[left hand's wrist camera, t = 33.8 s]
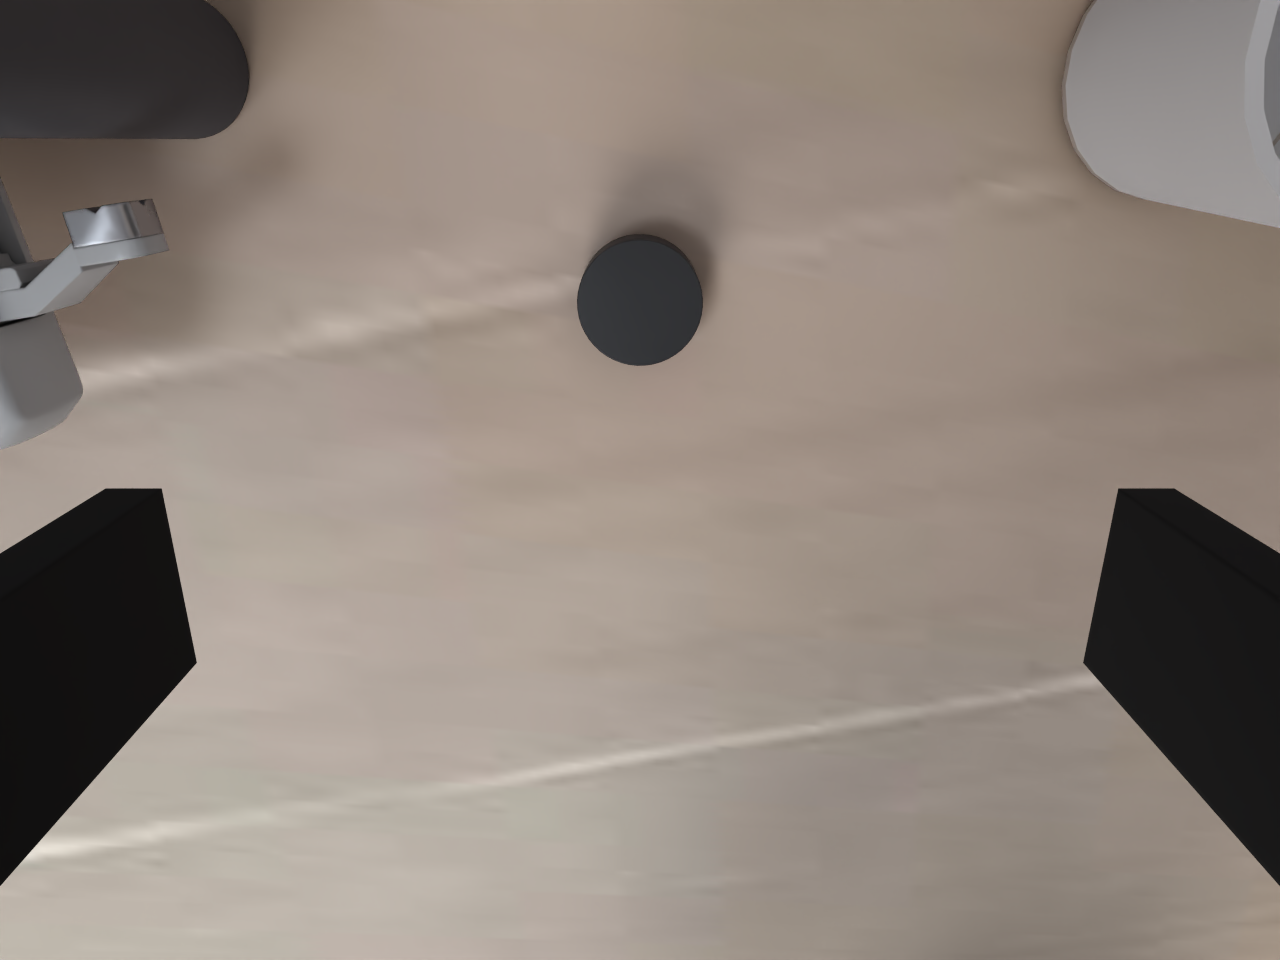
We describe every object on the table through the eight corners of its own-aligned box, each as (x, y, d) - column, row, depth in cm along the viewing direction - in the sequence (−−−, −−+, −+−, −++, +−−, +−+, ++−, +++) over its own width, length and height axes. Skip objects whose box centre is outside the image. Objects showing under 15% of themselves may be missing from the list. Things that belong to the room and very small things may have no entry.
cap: (702, 349, 32) (706, 360, 31) (587, 358, 33) (584, 370, 31) (695, 228, 31) (699, 234, 29) (574, 239, 31) (570, 245, 29)
